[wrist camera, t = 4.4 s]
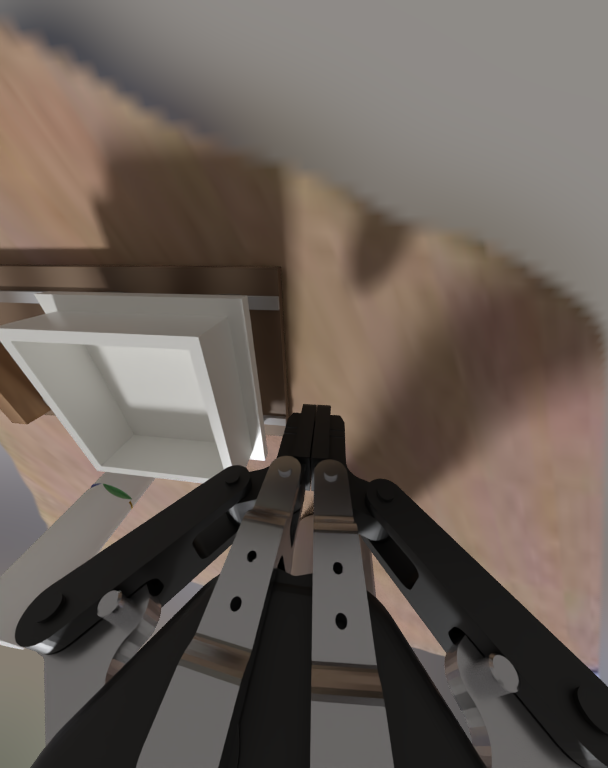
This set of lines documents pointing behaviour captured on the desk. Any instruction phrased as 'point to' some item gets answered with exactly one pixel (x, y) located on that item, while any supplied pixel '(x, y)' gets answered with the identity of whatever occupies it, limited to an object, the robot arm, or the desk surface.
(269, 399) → the track
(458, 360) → the desk surface
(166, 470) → the white open tray
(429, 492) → the desk surface
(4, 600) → the tube
